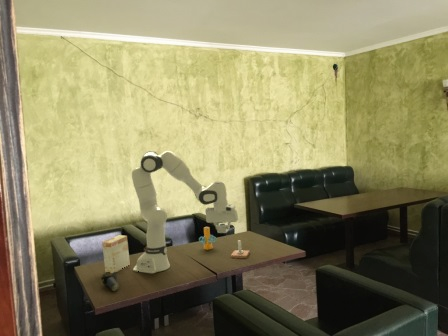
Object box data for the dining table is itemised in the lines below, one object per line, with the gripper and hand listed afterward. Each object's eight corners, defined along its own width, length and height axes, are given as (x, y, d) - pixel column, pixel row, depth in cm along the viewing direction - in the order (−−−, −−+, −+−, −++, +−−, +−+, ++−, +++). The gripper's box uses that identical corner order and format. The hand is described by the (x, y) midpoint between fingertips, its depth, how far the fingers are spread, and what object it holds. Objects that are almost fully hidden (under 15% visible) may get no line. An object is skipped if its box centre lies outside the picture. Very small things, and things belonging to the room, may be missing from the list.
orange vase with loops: (217, 245, 263) (216, 225, 261) (216, 250, 253) (214, 229, 251) (200, 246, 264) (199, 226, 263) (198, 251, 254) (196, 230, 252)
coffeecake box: (122, 264, 239) (119, 234, 237) (130, 265, 236) (127, 235, 234) (104, 272, 226) (101, 241, 224) (113, 274, 223) (110, 242, 221)
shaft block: (231, 257, 236) (230, 243, 235) (234, 252, 246) (233, 238, 245) (246, 258, 234) (245, 243, 233) (249, 252, 243) (248, 238, 242)
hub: (217, 232, 229) (216, 225, 228) (220, 230, 234) (219, 223, 234) (226, 232, 227) (225, 225, 227) (228, 230, 233) (227, 223, 232)
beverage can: (104, 288, 206) (110, 296, 196) (100, 276, 204) (106, 283, 194) (119, 280, 211) (126, 288, 201) (115, 268, 209) (122, 276, 199)
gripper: (203, 208, 229) (205, 230, 231) (235, 208, 223) (237, 230, 225) (206, 206, 235) (208, 227, 237) (237, 205, 229) (239, 227, 231)
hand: (222, 228), depth 231 cm, fingers closed on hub, 6 cm apart
